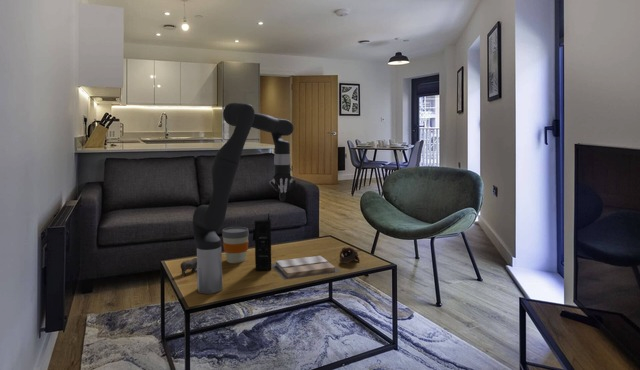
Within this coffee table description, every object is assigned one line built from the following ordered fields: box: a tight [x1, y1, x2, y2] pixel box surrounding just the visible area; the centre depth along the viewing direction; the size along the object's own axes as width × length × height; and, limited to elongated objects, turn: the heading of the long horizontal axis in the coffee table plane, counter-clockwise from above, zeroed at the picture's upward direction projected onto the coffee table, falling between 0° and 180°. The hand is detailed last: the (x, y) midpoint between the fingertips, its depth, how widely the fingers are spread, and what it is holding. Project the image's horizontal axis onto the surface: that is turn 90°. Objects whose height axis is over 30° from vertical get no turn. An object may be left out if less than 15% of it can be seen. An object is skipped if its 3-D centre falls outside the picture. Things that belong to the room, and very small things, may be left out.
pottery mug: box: [339, 246, 360, 265], centre depth 203 cm, size 12×10×8 cm
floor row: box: [283, 262, 336, 277], centre depth 189 cm, size 22×7×2 cm, turn 112°
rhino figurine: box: [180, 257, 197, 277], centre depth 190 cm, size 4×14×6 cm, turn 146°
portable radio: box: [252, 213, 272, 272], centre depth 191 cm, size 8×6×25 cm
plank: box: [275, 255, 329, 271], centre depth 197 cm, size 22×9×2 cm, turn 112°
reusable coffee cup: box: [221, 226, 250, 264], centre depth 205 cm, size 13×13×15 cm
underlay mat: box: [271, 263, 342, 281], centre depth 194 cm, size 26×22×1 cm
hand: (282, 200), depth 203 cm, fingers closed
